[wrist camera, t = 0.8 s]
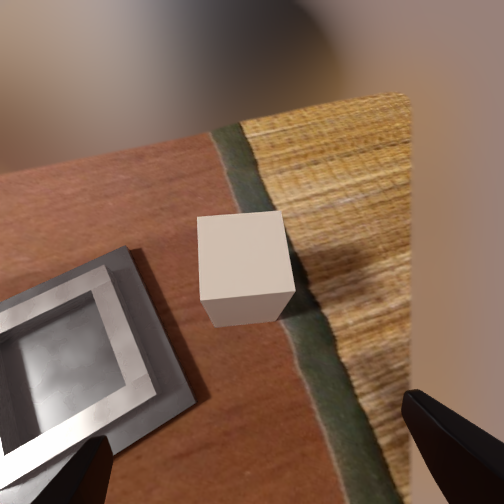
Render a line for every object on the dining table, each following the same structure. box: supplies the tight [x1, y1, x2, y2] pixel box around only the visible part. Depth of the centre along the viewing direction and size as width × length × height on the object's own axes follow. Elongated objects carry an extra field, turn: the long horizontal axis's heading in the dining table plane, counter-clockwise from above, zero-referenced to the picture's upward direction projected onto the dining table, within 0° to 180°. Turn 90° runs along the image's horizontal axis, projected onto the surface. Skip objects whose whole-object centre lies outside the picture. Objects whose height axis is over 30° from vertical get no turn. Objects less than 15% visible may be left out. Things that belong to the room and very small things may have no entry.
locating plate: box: [0, 245, 198, 504], centre depth 20 cm, size 14×14×2 cm
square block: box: [197, 211, 296, 328], centre depth 19 cm, size 5×5×9 cm
